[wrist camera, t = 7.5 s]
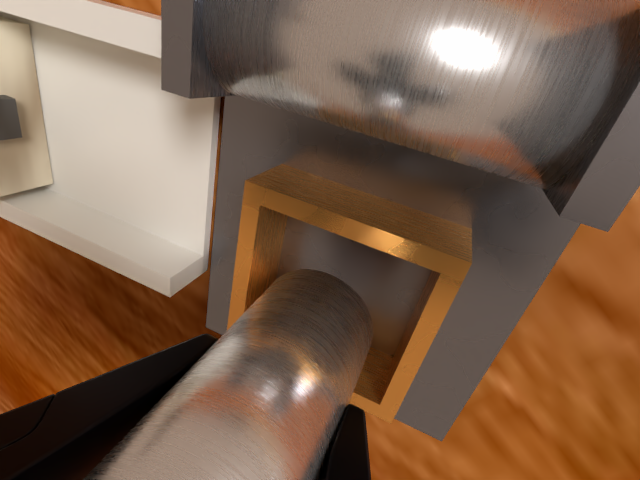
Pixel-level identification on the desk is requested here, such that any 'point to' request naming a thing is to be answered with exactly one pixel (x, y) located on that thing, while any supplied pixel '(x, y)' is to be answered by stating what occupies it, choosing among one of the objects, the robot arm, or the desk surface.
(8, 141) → the pale wooden block
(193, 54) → the grey metal holder
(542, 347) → the desk surface
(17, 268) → the desk surface
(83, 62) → the bay
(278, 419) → the capped metal canister
